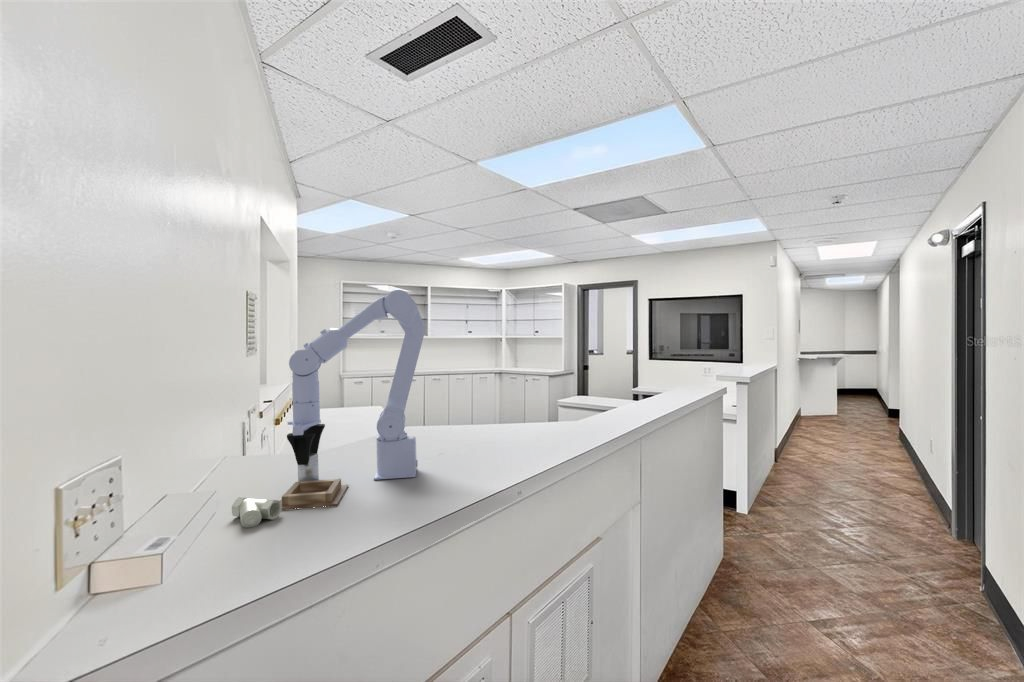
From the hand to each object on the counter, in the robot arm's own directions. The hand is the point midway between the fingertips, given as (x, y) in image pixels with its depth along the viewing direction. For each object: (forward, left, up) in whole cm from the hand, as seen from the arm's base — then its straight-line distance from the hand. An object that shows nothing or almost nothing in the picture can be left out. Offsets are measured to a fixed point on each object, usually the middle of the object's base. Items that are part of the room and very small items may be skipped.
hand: (307, 459), depth 109 cm
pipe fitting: (+4, +22, -6) cm, 23 cm away
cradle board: (-4, +12, -6) cm, 14 cm away
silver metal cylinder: (0, 0, -5) cm, 5 cm away
